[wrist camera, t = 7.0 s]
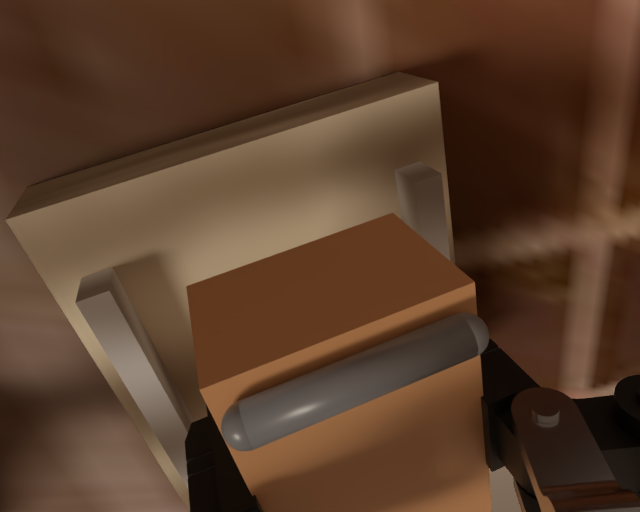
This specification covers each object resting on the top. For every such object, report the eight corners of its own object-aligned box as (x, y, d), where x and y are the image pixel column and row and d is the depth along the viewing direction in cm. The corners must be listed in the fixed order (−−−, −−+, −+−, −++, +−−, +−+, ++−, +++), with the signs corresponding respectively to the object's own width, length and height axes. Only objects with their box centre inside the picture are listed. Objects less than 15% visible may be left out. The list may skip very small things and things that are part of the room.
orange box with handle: (184, 273, 11) (204, 426, 7) (382, 203, 12) (502, 305, 8) (276, 482, 15) (323, 657, 11) (420, 420, 16) (513, 562, 12)
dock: (27, 186, 17) (-20, 258, 12) (398, 71, 19) (481, 93, 14) (185, 460, 24) (195, 568, 19) (436, 355, 26) (499, 431, 22)
